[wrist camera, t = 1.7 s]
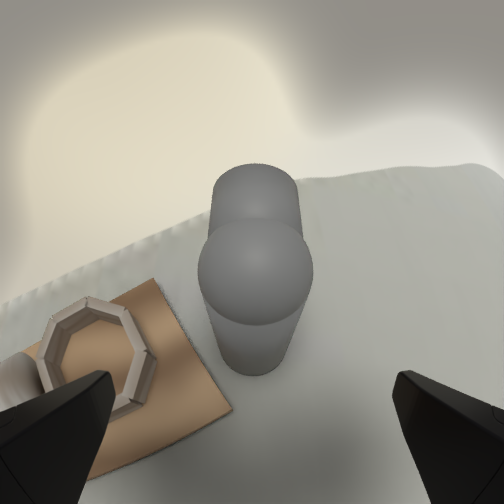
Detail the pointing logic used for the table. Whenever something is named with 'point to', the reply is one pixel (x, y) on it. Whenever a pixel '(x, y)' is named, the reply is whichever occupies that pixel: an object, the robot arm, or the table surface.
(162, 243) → the table surface
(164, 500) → the table surface
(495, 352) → the table surface
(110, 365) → the board
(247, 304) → the elbow
